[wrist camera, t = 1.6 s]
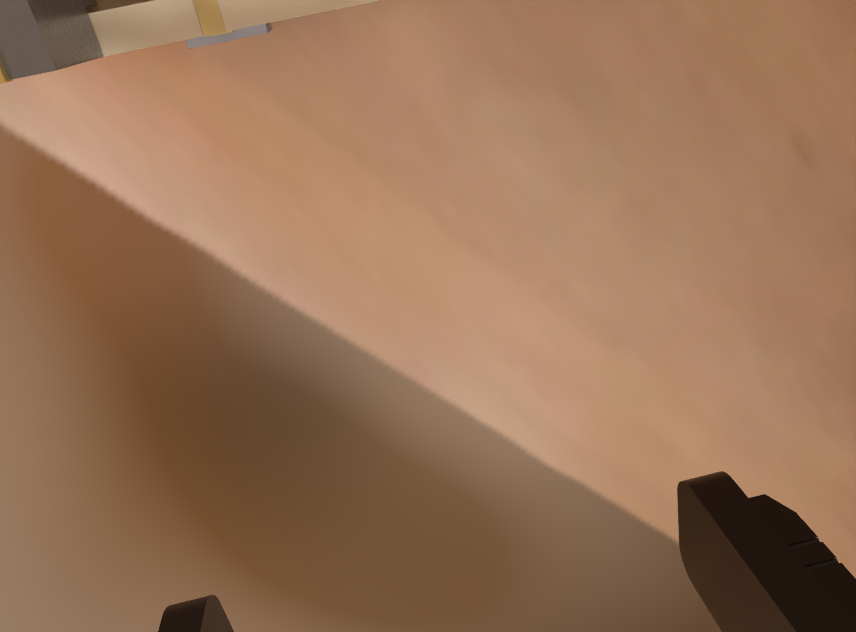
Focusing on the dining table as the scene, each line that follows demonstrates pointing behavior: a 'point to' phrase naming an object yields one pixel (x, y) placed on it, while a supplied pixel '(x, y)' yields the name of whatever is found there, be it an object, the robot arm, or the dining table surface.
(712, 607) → the robot arm
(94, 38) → the block
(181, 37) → the beam
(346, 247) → the dining table surface
